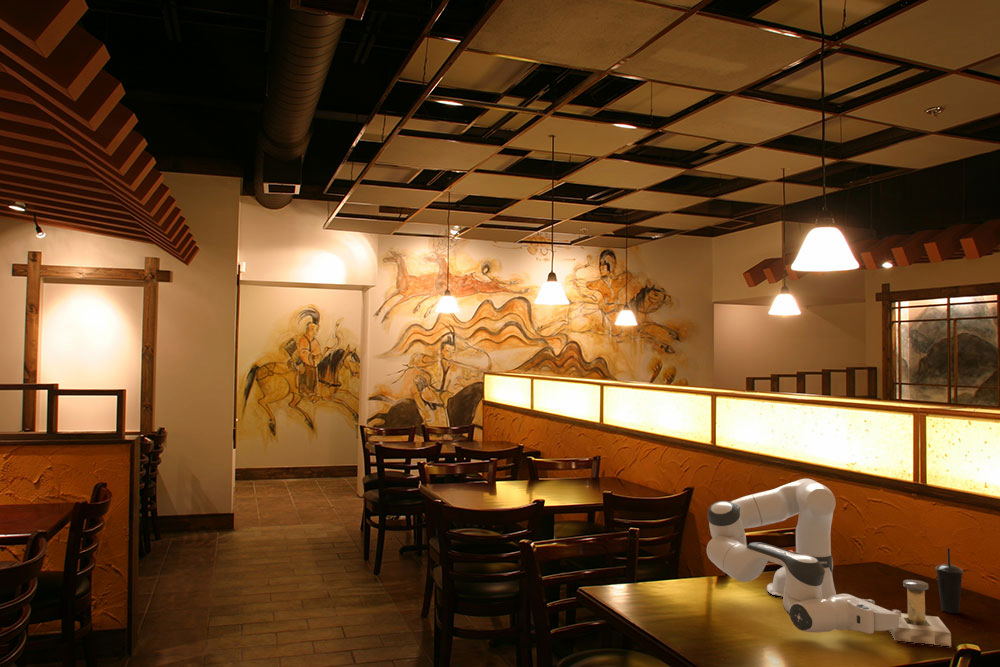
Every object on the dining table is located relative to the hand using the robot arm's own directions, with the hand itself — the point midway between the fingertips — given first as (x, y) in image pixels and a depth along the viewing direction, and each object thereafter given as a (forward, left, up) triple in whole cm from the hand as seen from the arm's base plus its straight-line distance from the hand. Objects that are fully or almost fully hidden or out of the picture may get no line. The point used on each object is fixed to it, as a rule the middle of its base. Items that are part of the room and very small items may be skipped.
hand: (885, 608), depth 205 cm
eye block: (+9, +6, -9) cm, 14 cm away
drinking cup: (+24, +34, -9) cm, 43 cm away
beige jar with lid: (+9, +6, -9) cm, 14 cm away
